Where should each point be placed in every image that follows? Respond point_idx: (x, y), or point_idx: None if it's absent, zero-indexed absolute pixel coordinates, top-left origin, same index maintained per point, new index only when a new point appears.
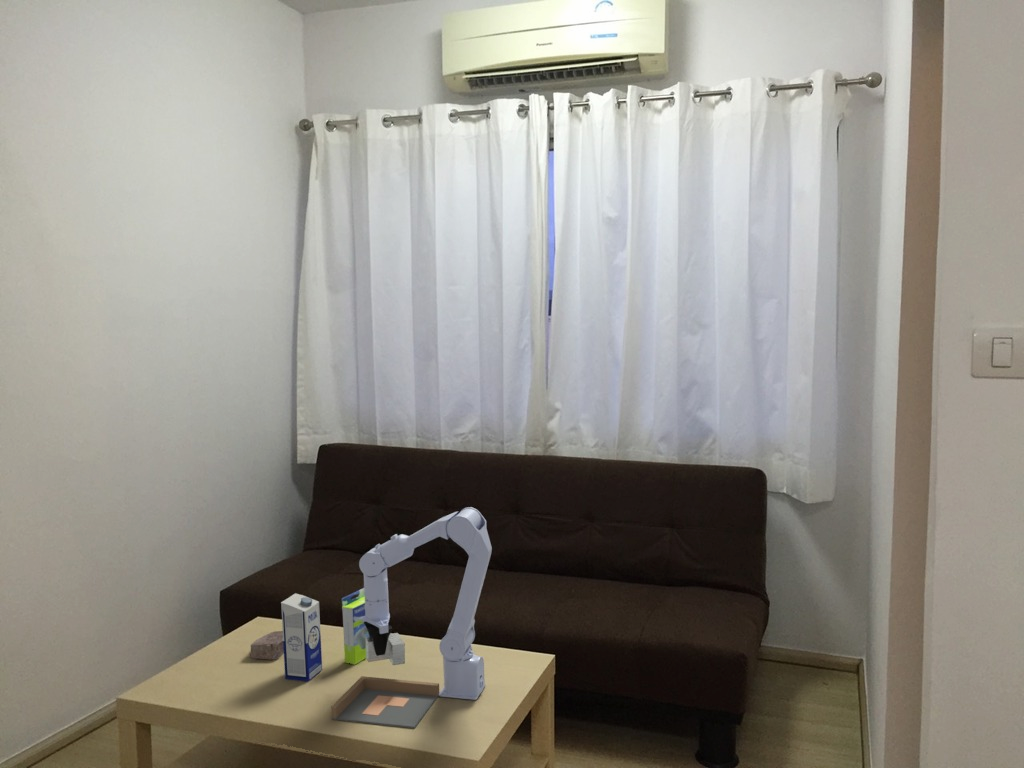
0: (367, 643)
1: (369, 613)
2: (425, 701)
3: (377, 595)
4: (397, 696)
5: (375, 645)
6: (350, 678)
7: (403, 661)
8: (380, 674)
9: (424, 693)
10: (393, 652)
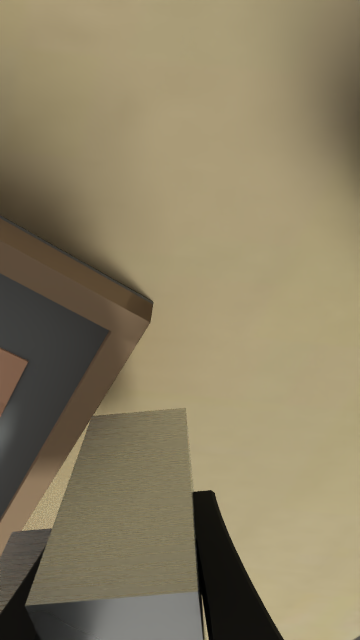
0: (86, 559)
1: None
2: None
3: None
4: (7, 429)
5: (5, 615)
6: (280, 257)
7: None
8: (260, 388)
9: (2, 514)
10: None
